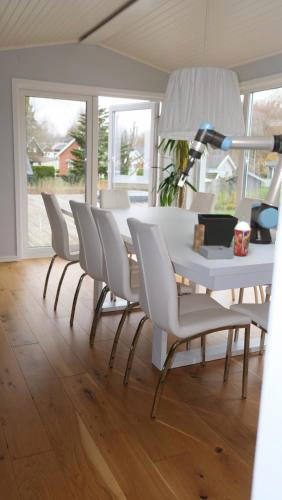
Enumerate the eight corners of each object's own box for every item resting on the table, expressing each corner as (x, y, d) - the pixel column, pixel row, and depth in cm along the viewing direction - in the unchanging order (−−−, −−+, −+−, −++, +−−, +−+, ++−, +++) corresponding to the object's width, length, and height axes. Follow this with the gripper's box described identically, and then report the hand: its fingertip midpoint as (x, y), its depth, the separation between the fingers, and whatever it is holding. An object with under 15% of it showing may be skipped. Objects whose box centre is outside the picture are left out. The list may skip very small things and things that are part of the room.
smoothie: (251, 257, 223) (254, 217, 219) (234, 256, 222) (238, 217, 219) (245, 253, 231) (249, 215, 227) (230, 253, 231) (233, 215, 227)
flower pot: (202, 248, 241) (204, 217, 238) (195, 242, 259) (197, 213, 256) (236, 249, 243) (239, 218, 239) (227, 242, 261) (229, 214, 258)
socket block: (222, 253, 230) (222, 245, 229) (232, 259, 217) (233, 251, 217) (198, 253, 227) (198, 245, 226) (207, 259, 215) (208, 251, 214)
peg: (200, 250, 235) (201, 224, 232) (202, 252, 231) (204, 225, 228) (193, 250, 234) (194, 224, 231) (195, 252, 230) (197, 225, 227)
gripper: (190, 149, 257) (174, 182, 261) (190, 145, 233) (173, 183, 237) (201, 154, 257) (186, 188, 261) (203, 151, 232) (186, 189, 236)
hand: (179, 185), depth 249 cm, fingers open, 13 cm apart
